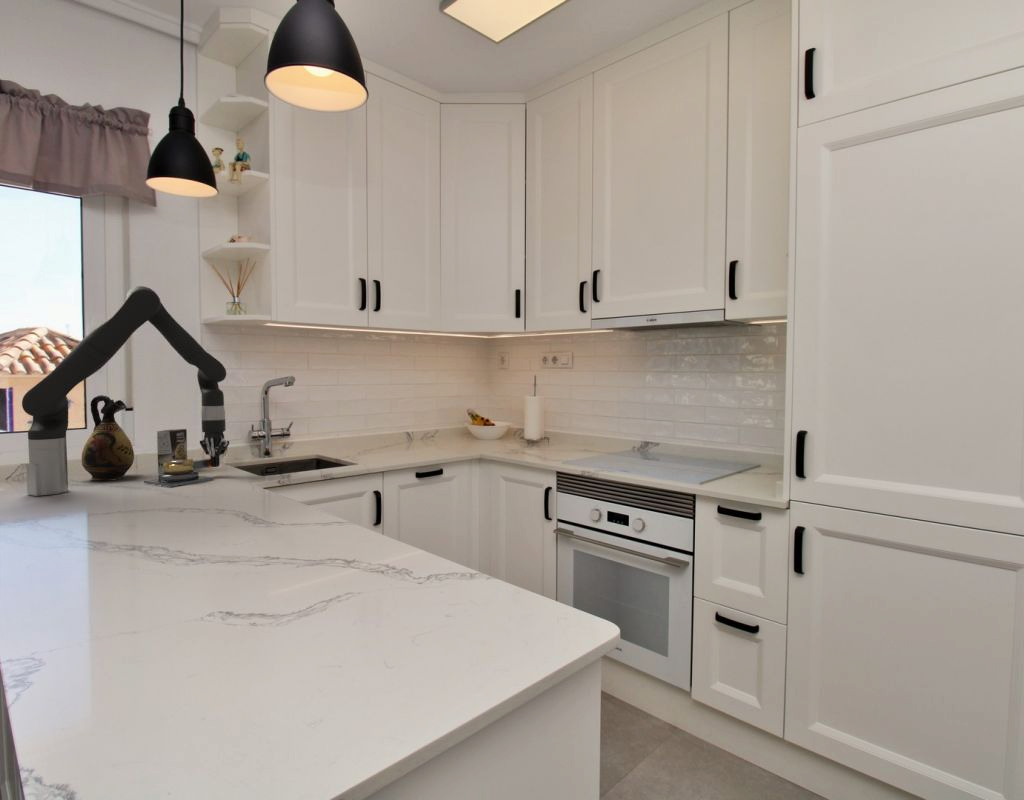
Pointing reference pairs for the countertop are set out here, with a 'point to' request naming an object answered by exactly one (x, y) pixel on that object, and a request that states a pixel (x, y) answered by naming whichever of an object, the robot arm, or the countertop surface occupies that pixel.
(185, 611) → the countertop surface
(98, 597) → the countertop surface
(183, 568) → the countertop surface
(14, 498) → the countertop surface
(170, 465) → the rotary lever handle
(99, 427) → the ceramic jug
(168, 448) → the coffee box
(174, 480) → the housing
